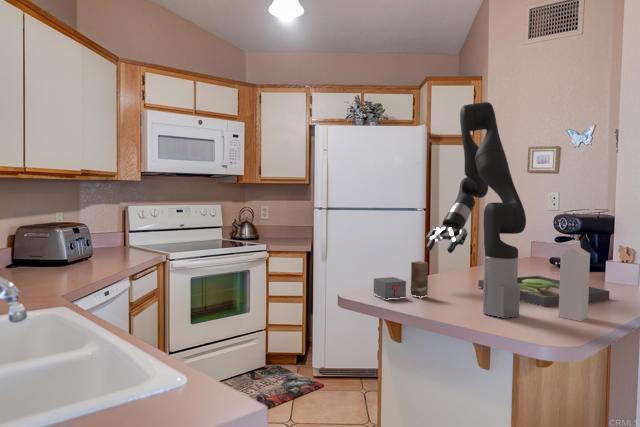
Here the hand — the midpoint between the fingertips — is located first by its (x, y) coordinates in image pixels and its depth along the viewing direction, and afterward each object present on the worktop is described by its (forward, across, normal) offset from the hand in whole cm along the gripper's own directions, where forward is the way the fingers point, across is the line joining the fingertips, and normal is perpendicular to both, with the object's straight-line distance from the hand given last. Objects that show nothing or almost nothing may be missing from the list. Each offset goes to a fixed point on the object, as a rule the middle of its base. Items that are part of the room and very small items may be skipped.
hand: (438, 250), depth 161 cm
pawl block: (+25, -6, -3) cm, 26 cm away
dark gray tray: (-9, +25, +30) cm, 40 cm away
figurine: (-7, +25, +30) cm, 39 cm away
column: (+19, 0, +3) cm, 19 cm away
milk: (+9, +44, +13) cm, 47 cm away
